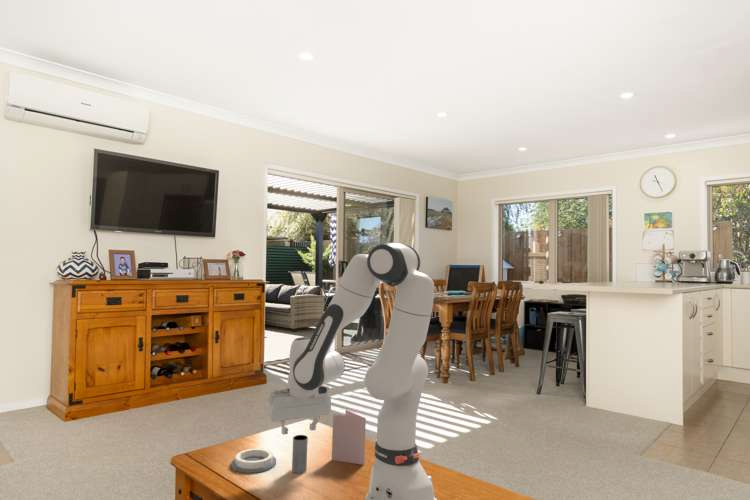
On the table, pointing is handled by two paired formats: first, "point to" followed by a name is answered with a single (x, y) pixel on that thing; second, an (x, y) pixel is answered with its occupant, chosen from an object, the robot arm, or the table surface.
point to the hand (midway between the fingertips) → (298, 431)
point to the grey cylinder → (299, 454)
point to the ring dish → (255, 458)
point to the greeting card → (348, 438)
